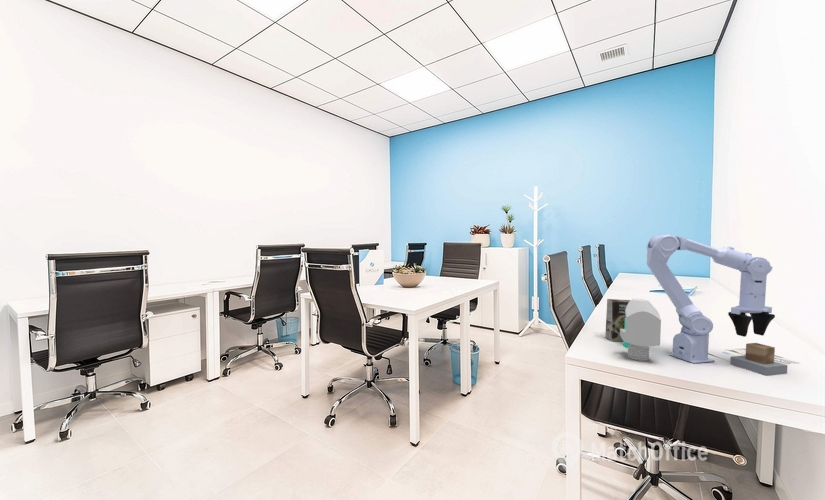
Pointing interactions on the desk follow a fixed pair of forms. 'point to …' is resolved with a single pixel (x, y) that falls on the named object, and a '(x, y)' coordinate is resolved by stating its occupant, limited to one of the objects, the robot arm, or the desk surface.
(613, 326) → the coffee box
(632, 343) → the light fixture
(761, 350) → the block
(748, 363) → the plinth
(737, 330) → the robot arm
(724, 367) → the desk surface
